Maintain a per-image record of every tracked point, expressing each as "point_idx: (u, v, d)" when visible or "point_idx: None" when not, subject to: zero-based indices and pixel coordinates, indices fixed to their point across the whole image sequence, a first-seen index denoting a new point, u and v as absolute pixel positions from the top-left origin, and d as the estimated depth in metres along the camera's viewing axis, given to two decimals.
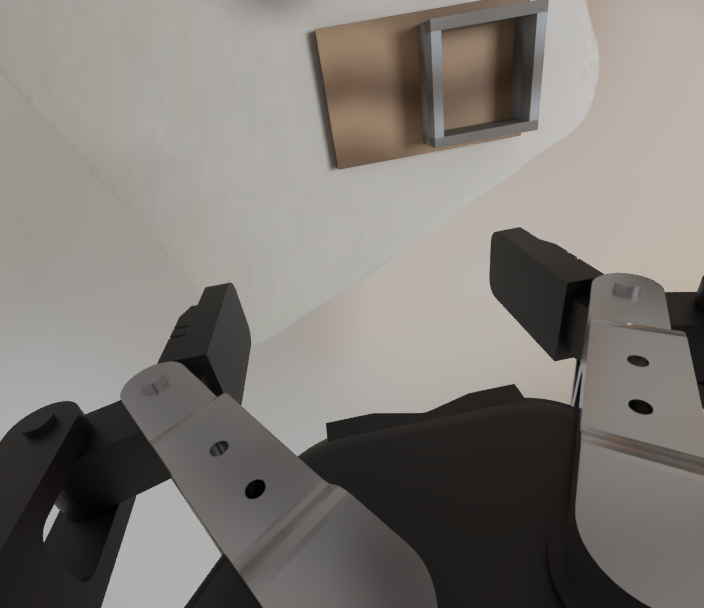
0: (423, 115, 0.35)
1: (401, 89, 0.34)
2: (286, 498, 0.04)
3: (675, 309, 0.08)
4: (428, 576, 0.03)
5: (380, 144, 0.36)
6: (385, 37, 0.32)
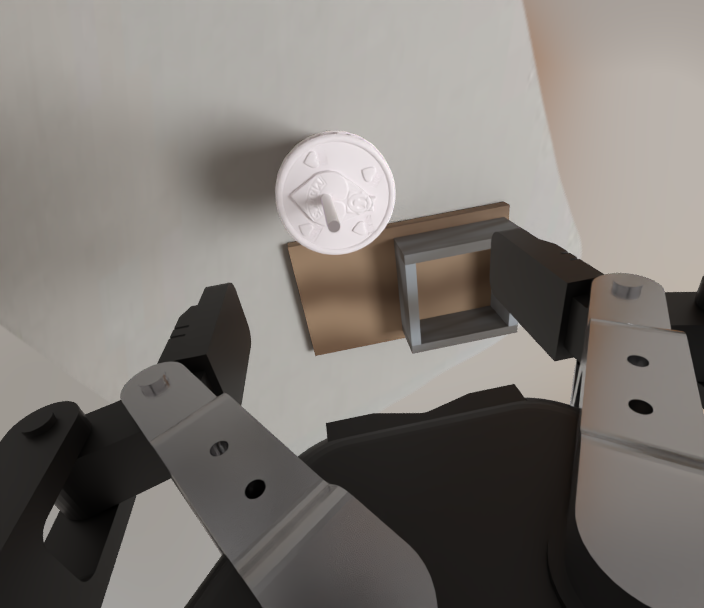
0: (401, 310, 0.34)
1: (378, 289, 0.33)
2: (286, 498, 0.04)
3: (675, 309, 0.08)
4: (428, 576, 0.03)
5: (357, 334, 0.35)
6: (360, 249, 0.31)
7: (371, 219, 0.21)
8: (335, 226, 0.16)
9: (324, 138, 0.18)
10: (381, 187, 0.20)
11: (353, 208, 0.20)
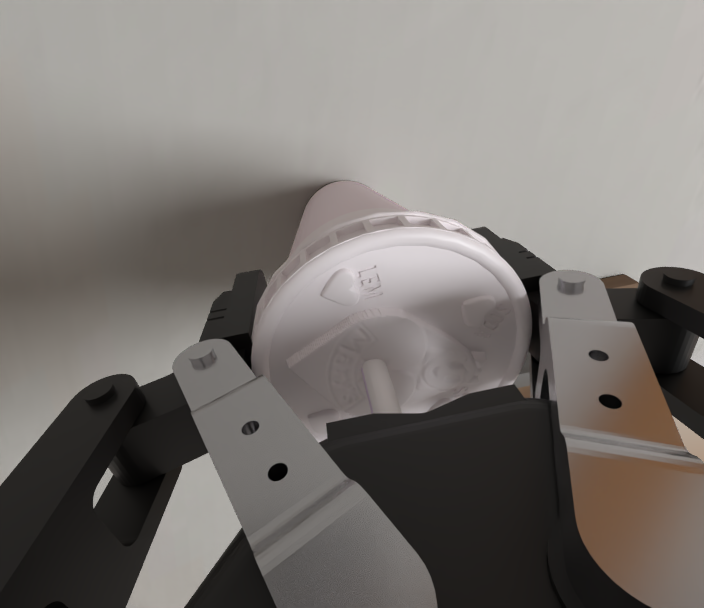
0: None
1: None
2: (305, 485, 0.04)
3: (616, 304, 0.08)
4: (432, 589, 0.03)
5: None
6: None
7: (468, 393, 0.09)
8: None
9: (377, 239, 0.07)
10: (501, 335, 0.09)
11: (434, 381, 0.09)
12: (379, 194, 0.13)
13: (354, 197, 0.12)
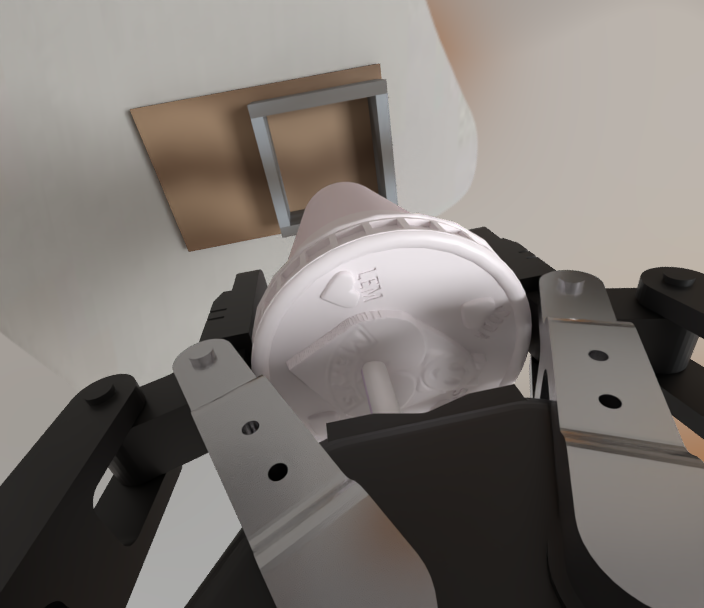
0: None
1: (246, 169, 0.30)
2: (306, 485, 0.04)
3: (616, 304, 0.08)
4: (433, 590, 0.03)
5: (232, 225, 0.32)
6: (216, 115, 0.28)
7: None
8: None
9: (377, 241, 0.07)
10: (500, 336, 0.09)
11: (434, 383, 0.09)
12: (379, 195, 0.13)
13: (354, 199, 0.12)
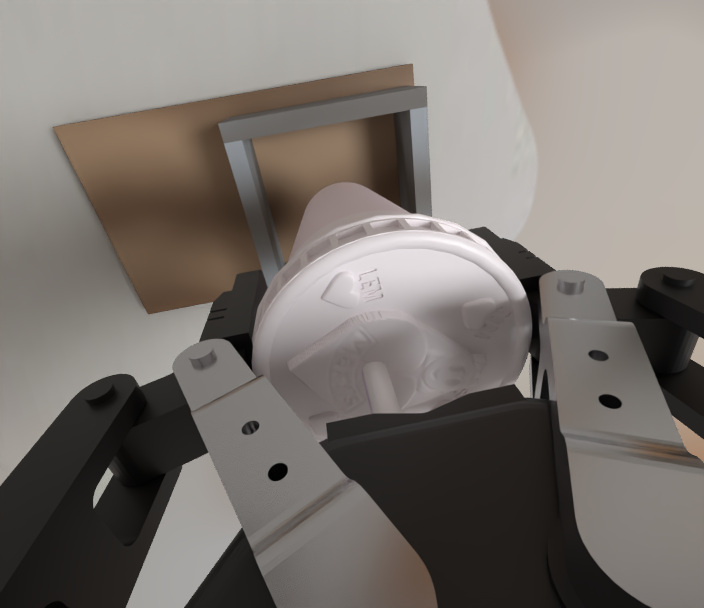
0: None
1: (224, 208, 0.22)
2: (305, 485, 0.04)
3: (616, 304, 0.08)
4: (432, 589, 0.03)
5: (206, 280, 0.24)
6: (179, 135, 0.20)
7: None
8: None
9: (378, 242, 0.07)
10: (501, 337, 0.09)
11: (434, 384, 0.09)
12: (379, 196, 0.13)
13: (354, 199, 0.12)
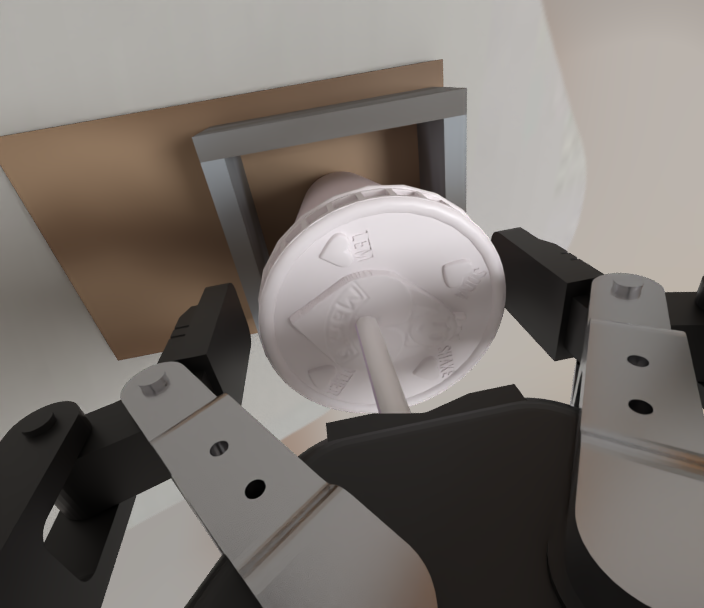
0: None
1: (206, 237, 0.18)
2: (286, 498, 0.04)
3: (675, 309, 0.08)
4: (428, 576, 0.03)
5: None
6: (147, 150, 0.16)
7: (451, 352, 0.10)
8: None
9: (368, 206, 0.08)
10: (478, 296, 0.10)
11: (420, 338, 0.10)
12: None
13: (349, 181, 0.13)
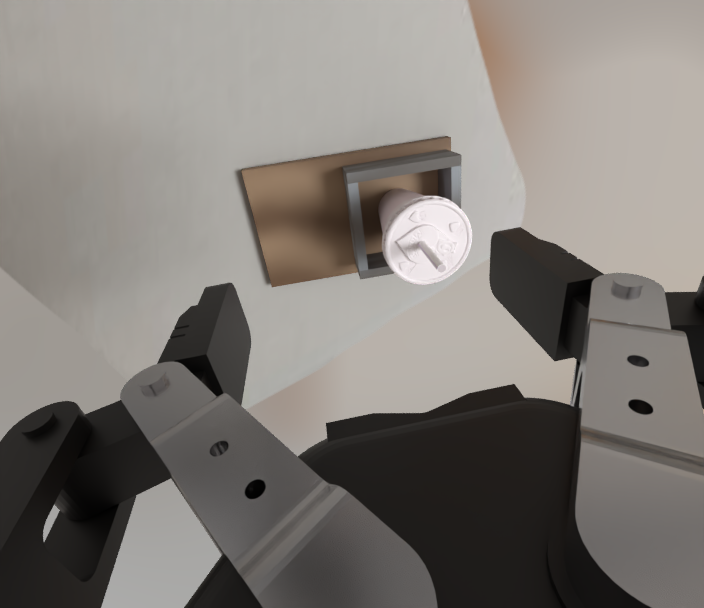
0: (352, 242, 0.36)
1: (330, 219, 0.35)
2: (286, 497, 0.04)
3: (675, 309, 0.08)
4: (427, 576, 0.03)
5: (312, 265, 0.37)
6: (311, 176, 0.33)
7: (452, 259, 0.28)
8: (442, 268, 0.23)
9: (426, 202, 0.25)
10: (462, 236, 0.27)
11: (440, 251, 0.27)
12: None
13: (410, 193, 0.30)
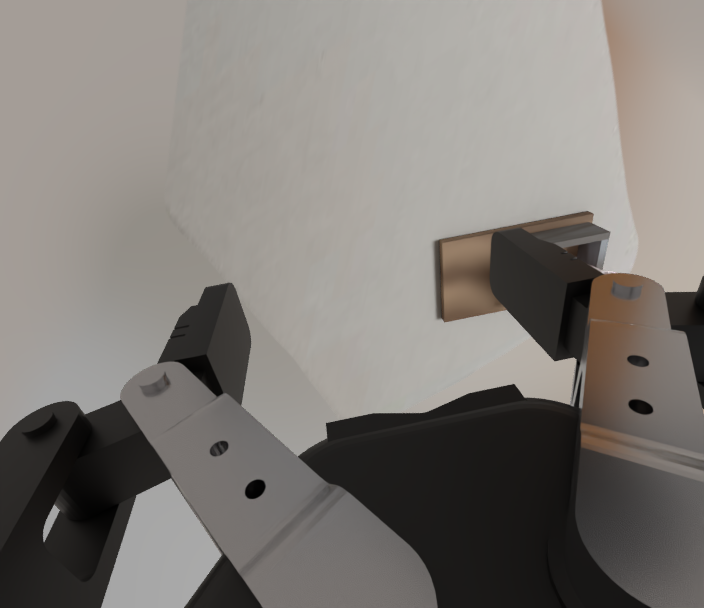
0: None
1: None
2: (286, 498, 0.04)
3: (675, 309, 0.08)
4: (428, 576, 0.03)
5: (476, 306, 0.49)
6: (489, 244, 0.45)
7: None
8: None
9: None
10: None
11: None
12: None
13: None
